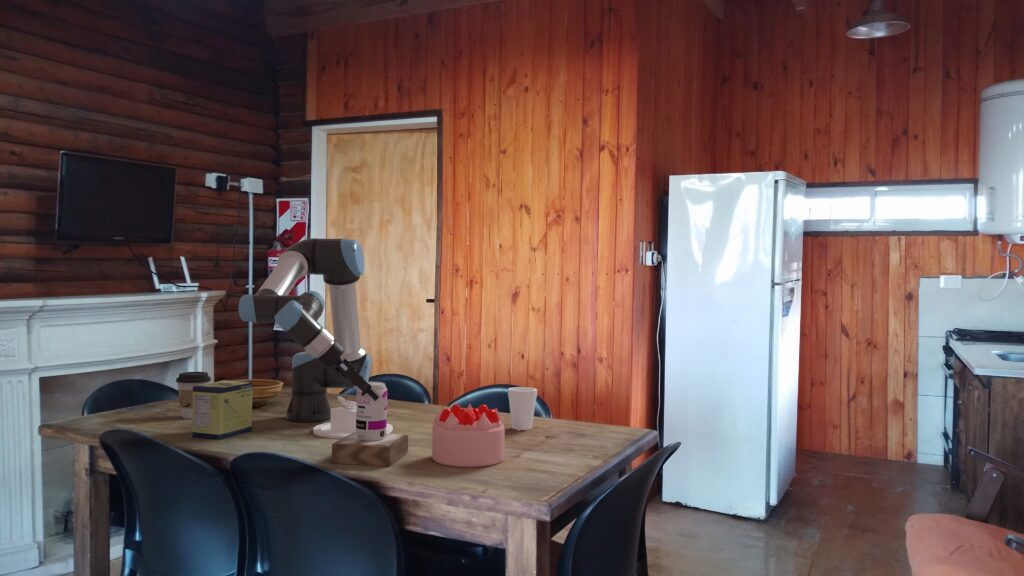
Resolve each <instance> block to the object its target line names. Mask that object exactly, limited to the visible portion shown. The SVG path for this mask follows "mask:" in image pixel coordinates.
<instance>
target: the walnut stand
mask: <svg viewBox="0 0 1024 576" xmlns="http://www.w3.org/2000/svg"><path fill="white" fill-rule="evenodd" d="M408 453H409V435H408V434H394V433H389V434H386V436H385V437H384V439H382V440H378V441H363V440H359V439H358V438H357V437H356V432H354V433H352V434H350V435H348V436H346V437H344V438H343V439H339V440H337V441H335V442H334V443H331V464H340V465H342V464H343V465H355V466H357V465H361V466H373V467H374V466H376V467H378V466H379V467H391V466H393V465H394V464H395V463H396V462H398V461H400V460H401V459H402V458H403V457H405V456H406V455H407V454H408Z"/></svg>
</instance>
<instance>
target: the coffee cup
mask: <svg viewBox="0 0 1024 576" xmlns="http://www.w3.org/2000/svg"><path fill="white" fill-rule="evenodd" d="M175 379H176V380H175V383H177V391H178V398H179V405H180V406H179V407H180V415H181V418H182V419H186V420H191V419H192V420H193V386H196V385H202V384H208V383H211V381H212V379H211V376H209V372H207V371H185V372H179V373H178V377H176V378H175Z"/></svg>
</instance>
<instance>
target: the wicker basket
mask: <svg viewBox="0 0 1024 576" xmlns="http://www.w3.org/2000/svg"><path fill="white" fill-rule="evenodd" d="M232 381H243V382H253V384H252V406H256V407H260V406H259V405H262V406H264V405H263V404H265V405H266V403H267V402H268V401H270V400H272V399H275V398H277V396H278V395H280V393H281V392H282V389H283V386H284V382H282V381H280V380H274V379H259V378H258V379H257V378H255V379H254V378H253V379H250V378H249V379H235V380H232Z"/></svg>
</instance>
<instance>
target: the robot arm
mask: <svg viewBox="0 0 1024 576" xmlns="http://www.w3.org/2000/svg"><path fill="white" fill-rule="evenodd" d="M364 272H365V256H364V251H363V247H362V245H361V244H360V242H359V241H358V240H356V239H352V238H350V239H349V238H346V237H345V238H344V237H343V238H305V239H303V240H300V241H298V242H295V243H294V244H292V245H290V246H289V247H287V248H286V249H284V251H282V253H281V254H280V255H279V257H278V258H277V262H276V266H275V268H274V269H273V270H272V272H271V273H269V276H268V277H267V278H266V279H265V281H264V283H263V284H262V285H261V286H260V288H259V289H258V290H257V292H255V294H252V293H250V294H244V295H242V296H241V297H240V300H239V302H238V314H239V318H240V320H242V321H243V322H246V323H247V322H248V323H255V324H257V323H277V325H278V326H279V327H280V329H282V330H283V331H284V332H285V333H286V334H288V336H290V337H291V338H292V339H293V340H294V341H295V342H296V343H297V344H298V345H299V346H300V347H301V348H302V349H304V351H302V352H297V353H295V354H294V355H292V356H293V357H292V360H291V361H292V364H291V398H290V401H289V404H288V406H287V410H286V413H285V414H286V415H285V417H286V421H290V422H296V423H297V422H298V423H311V422H312V423H313V422H314V423H315V422H323V421H328V420H331V408H332V407H331V405H330V402H329V399H328V396H327V395H328V391H327V390H328V389H352V390H355V389H357V387H358V388H359V389H360V390H361V391H362V393H361V395H362V396H364V395H366V396H367V397H368V398H369V399H370V400H371V401H372V402H373V403H374V404H375V405H376V406H377V407H378V408H379V409H380V410H381V411H382V410H383V409H384V408H385V407H386V406H387V407H388V406H389V405H390V402H388V400H387V401H386V400H385V399H384V398H383V397H382V396H381V395H380V394H379V393H378V392H377V391H376V390H375V389H374V388H373V387H371V385H370V384H368V383H367V382H369V378H370V375H371V374H370V373H371V369H372V368H371V367H372V356H371V355H370V354H368V353H367V354H366V348H365V347H364V346H363V345H362V344H361V338H360V323H359V311H358V299H357V298H358V297H357V285H356V284H357V283H358V282H359V280H360V279H361V276H363V274H364ZM307 275H315V276H316V275H317V276H322V277H323V278H322V279H323V282H324V283H325V284H326V285H327V286H328V292H329V300H330V314H331V321H332V322H331V323H332V331H333V332H332V334H333V335H332V334H331V333H330V332H329V331H328V330H327V329H326V328H324V327H323V326H322V325H321V324H320V323H319V322H318V321H319V319H320V317H321V316H322V315H323V312H324V309H325V306H326V302H325V299H324V297H323V296H322V295H321V294H320V293H319V292H317V291H315V290H307V291H304V292H303V293H301V294H299V295H293V294H291V295H289V294H290V292H292V290H293V288H294V287H295V285H296V284H297V282H298V281H299V280H301V279H302V278H304V277H305V276H307Z"/></svg>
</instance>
